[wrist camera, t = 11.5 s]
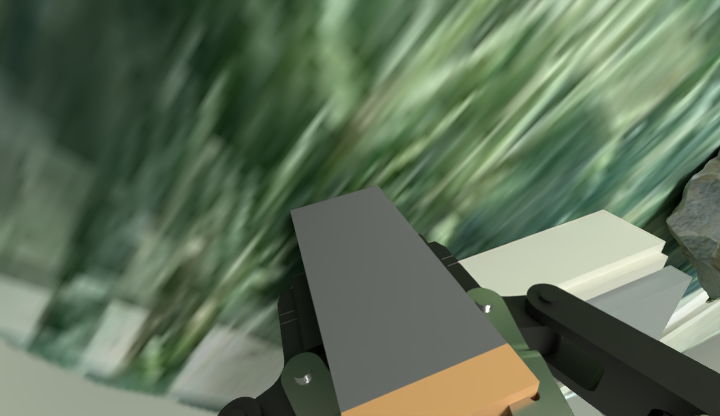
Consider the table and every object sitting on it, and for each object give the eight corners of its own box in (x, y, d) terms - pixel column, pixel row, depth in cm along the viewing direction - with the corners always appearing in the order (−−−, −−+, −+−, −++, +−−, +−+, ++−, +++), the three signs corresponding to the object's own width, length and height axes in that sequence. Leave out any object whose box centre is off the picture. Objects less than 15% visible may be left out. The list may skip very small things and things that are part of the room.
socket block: (360, 296, 19) (388, 361, 15) (603, 209, 22) (675, 246, 19) (383, 399, 26) (407, 463, 22) (569, 320, 29) (618, 364, 25)
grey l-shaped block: (583, 300, 19) (647, 353, 16) (670, 265, 20) (745, 307, 17) (559, 376, 23) (606, 428, 20) (632, 343, 24) (686, 387, 21)
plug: (290, 210, 14) (354, 466, 6) (377, 185, 15) (540, 381, 7) (311, 277, 17) (379, 530, 8) (386, 252, 17) (517, 461, 9)
